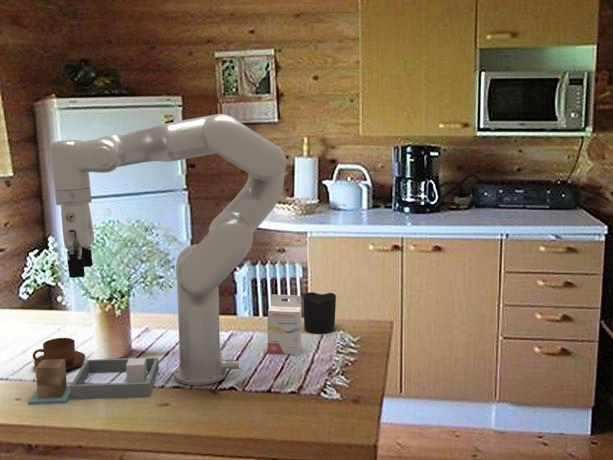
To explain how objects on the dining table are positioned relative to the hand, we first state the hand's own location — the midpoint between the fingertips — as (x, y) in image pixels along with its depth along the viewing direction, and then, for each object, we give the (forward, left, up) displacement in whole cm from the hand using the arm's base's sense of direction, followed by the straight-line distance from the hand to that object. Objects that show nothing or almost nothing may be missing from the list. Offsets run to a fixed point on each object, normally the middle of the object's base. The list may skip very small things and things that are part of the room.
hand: (81, 271), depth 156 cm
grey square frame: (-7, +1, -27) cm, 27 cm away
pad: (+6, +7, -27) cm, 28 cm away
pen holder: (-58, -34, -27) cm, 72 cm away
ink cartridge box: (-47, -17, -27) cm, 57 cm away
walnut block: (+6, +7, -26) cm, 28 cm away
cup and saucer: (+9, -12, -27) cm, 31 cm away
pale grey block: (-11, 0, -27) cm, 29 cm away
